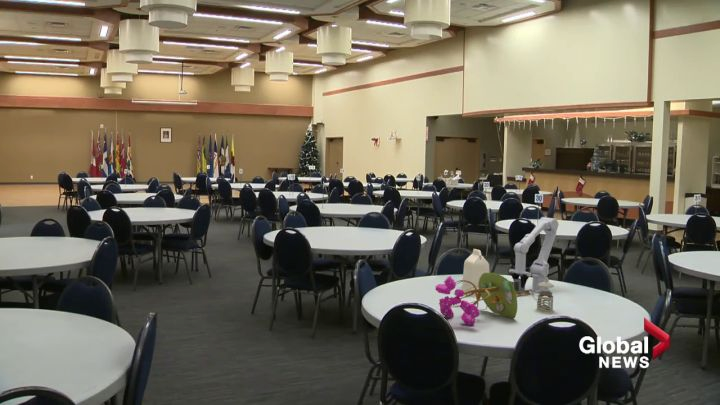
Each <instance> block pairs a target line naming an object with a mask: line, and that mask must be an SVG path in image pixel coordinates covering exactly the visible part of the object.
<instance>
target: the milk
mask: <svg viewBox="0 0 720 405" xmlns="http://www.w3.org/2000/svg"><path fill="white" fill-rule="evenodd" d="M462 273H463V274H462V280H466V281H469V282H471V283H473V284H474V285H475V286H478V283H479V279H480V277H481V275H482V274H483V273H490V263H489V262H488V260H487V259H486V258H485V257H484V256H483V255H482V252H481V250H480V249H476V248H473V250H472V253H471V254H470V255H469V256H468V257H467V258H466V259H465V260H464V263H463V272H462ZM461 284H462V287H461V290H463V291H465V292H467V291H470V290H475V288H472V287H474V286H473V285H472V284H470V283H468V282H464V281H463V282H462V283H461ZM470 288H471V289H470ZM476 288H477V289H479V287H476ZM468 289H469V290H468ZM466 290H467V291H466ZM465 292H464V293H465ZM470 294H471V293H468V294H467V295H470ZM477 295H478V292H477ZM471 297H473V298H476V295H475V293H474V294H473V295H471V296H470V298H471Z"/></svg>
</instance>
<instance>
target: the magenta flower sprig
mask: <svg viewBox="0 0 720 405" xmlns="http://www.w3.org/2000/svg"><path fill="white" fill-rule="evenodd" d="M463 281H464V282H468V283H470V284H472V285H473V286H474V287H472V288H475V290H470V291H467V290H466V291H467V292H465V291H463V290H462V288H458V289H455V288H456V286H457V285H458V284H460V283H461V284H462V283H463ZM509 281H510V280H509V279H507V277H504V275H501V274H499V273H495V272H489V273H483V274H482V275H481V277H480V279H479V283H478V286H475V285H474V284H473V283H471V282H469V281H466V280H463V279H461V280H457V281H455V279H453V278H452V276H450V275H449V276H447V277H446V278H445V280H444V281H443V283H439V284H437V285H435V291H436V292H437V293H439V294H443V295H447V296H445V297H444V298H443V297H442V298H439V300H438V302H439V303H438V305H439V311H440V314H441V315H442V316H444V317H445V318H446V319H453V318H454V317H455V313H454V311H453V309H452V308H460V309H461V310H462V311H463V313H462V314H461V316H460V319H461V321H462V322H464V323H465V325H466V326H471V325H474V324H475V322H476V318H478V317H480V310H481V311H482V310H483V311H485V310H488V309H489V310H490V311H491V312H492V313H493V314H496V315H500V316H503V317H506V318H510V319H515V318H516V315H517V312H518V299H517V298H518V297H517V296H516V291H515V289H514V287H513V285H512V284H511V283H510V282H509ZM476 287H479V289H477V288H476ZM454 289H455V290H454ZM470 289H471V288H470ZM453 290H454V293H453V295H454V297H452V296H451V297H449V296H448V295H451V292H452V291H453ZM468 290H469V289H468ZM464 292H465V293H464ZM477 292H478V295H477ZM468 293H471V294H470V295H467V294H468ZM474 293H475V295H476V297H475V299H476V300H475V301H472V302H468V301H467V300H464V299H465V298H469V296H471V295H473V294H474ZM462 299H463V300H462ZM481 301H483V302H484V303H485V305H486V308H482V309H481V308H480V309H479V302H481Z"/></svg>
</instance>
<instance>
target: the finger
mask: <svg viewBox="0 0 720 405" xmlns="http://www.w3.org/2000/svg"><path fill="white" fill-rule="evenodd" d="M513 282H514V289H515V291H516V292H519V291H525V290H526V287H525V288H521V278H520V277H519V279H514V280H513Z"/></svg>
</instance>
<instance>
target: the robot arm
mask: <svg viewBox="0 0 720 405" xmlns="http://www.w3.org/2000/svg"><path fill="white" fill-rule="evenodd" d="M558 227H559V221H558V220H557V218H555V217H554V218H553V217H545V216H541V217H540V219H538V222H537V225H535V227H534V228H533V229H532V231H531V232H530V233H527V234H525V235H524V237H523V238H522V239H521V240H520V241H519V242H517V243H515V245H514V247H513V252H514V255H515V265H514V266H515V267H514V269H513V268H510V269H509V270H508V272H509V274H510V273H511V274H510V276H511V278H512V281H514V279H519V278H520V279H521V288H525V289H526V283H527V281H528V280H529V278H530V277H532V286H531V287H532V288H531V289H529V290H530V291H531V292H532V291H534V292H535V293H538V292H540V291H546V292H547V291H548V292H551V291H550V289H549V287H541V286H538V284H539V283H541V282H549V283H550V280H549V277H548V274H549V273H550V272H549V271H550V270H549V268H550V265H549V266H547V276H546V266H545V264H546V263H547V264H549V263H548V259H549V257H550V253H551V251H552V248H553V244H554V241H555V239H556V236H557V231H558ZM542 231H543V232H544V233H545V236H544V239H543V242H542V245H541V248H540V252H539V253H538V257H537V259H535V260H534V261H533V263H532V264H531V266H530V267H529V271H526V267H527V266H526V265H527V264H526V262H527V258H526V257H527V253H528V252H529V248H530V246H531V245H532V244H533V243H535V241H536V237H537V236H539V235H540V233H542ZM536 287H538V288H536ZM534 288H535V290H533V289H534Z"/></svg>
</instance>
